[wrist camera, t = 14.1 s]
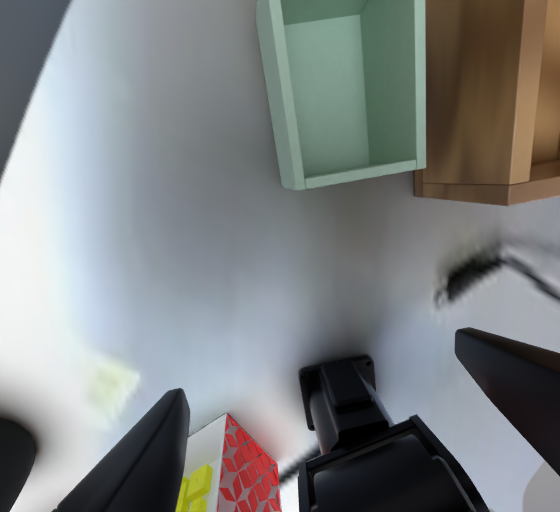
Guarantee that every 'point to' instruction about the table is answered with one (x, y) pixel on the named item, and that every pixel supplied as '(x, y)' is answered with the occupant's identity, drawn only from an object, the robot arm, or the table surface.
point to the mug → (14, 462)
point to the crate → (492, 101)
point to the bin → (344, 87)
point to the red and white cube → (228, 472)
